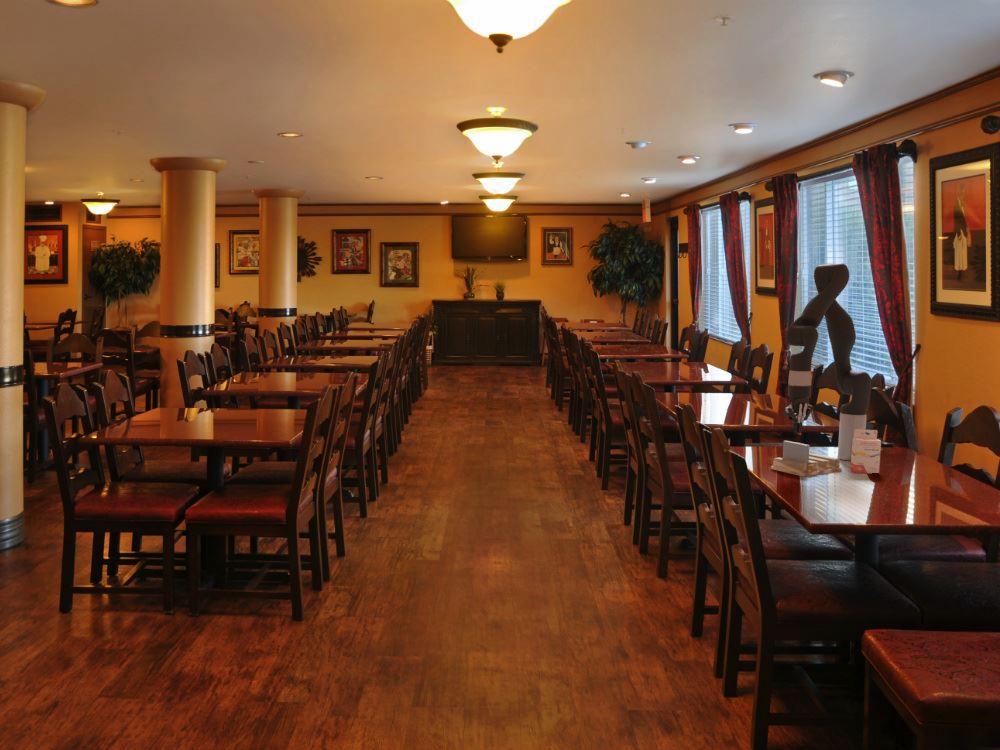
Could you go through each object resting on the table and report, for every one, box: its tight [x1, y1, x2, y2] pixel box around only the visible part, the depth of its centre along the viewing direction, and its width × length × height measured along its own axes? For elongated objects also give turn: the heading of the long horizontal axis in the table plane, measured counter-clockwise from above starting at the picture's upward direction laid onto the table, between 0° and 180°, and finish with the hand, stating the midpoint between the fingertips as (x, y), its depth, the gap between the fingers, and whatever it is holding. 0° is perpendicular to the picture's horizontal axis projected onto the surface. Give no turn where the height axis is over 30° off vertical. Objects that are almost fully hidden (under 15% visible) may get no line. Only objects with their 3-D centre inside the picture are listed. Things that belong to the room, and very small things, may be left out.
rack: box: [770, 453, 843, 477], centre depth 324 cm, size 20×14×4 cm
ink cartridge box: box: [850, 429, 882, 474], centre depth 321 cm, size 9×5×15 cm, turn 84°
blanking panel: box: [782, 440, 810, 471], centre depth 320 cm, size 2×10×9 cm, turn 32°
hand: (797, 433), depth 319 cm, fingers closed
